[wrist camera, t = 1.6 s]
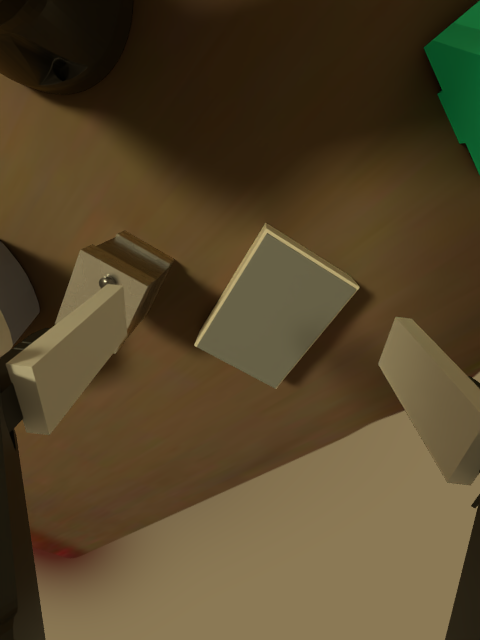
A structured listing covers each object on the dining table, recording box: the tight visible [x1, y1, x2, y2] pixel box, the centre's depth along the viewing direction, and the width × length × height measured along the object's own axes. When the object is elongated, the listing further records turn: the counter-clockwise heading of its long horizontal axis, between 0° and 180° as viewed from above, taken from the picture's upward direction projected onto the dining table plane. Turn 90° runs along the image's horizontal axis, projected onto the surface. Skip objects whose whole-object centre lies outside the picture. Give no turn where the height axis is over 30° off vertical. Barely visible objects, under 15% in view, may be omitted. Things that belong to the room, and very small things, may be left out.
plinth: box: [194, 223, 360, 388], centre depth 34 cm, size 11×15×4 cm
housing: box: [55, 231, 175, 354], centre depth 31 cm, size 6×8×10 cm
